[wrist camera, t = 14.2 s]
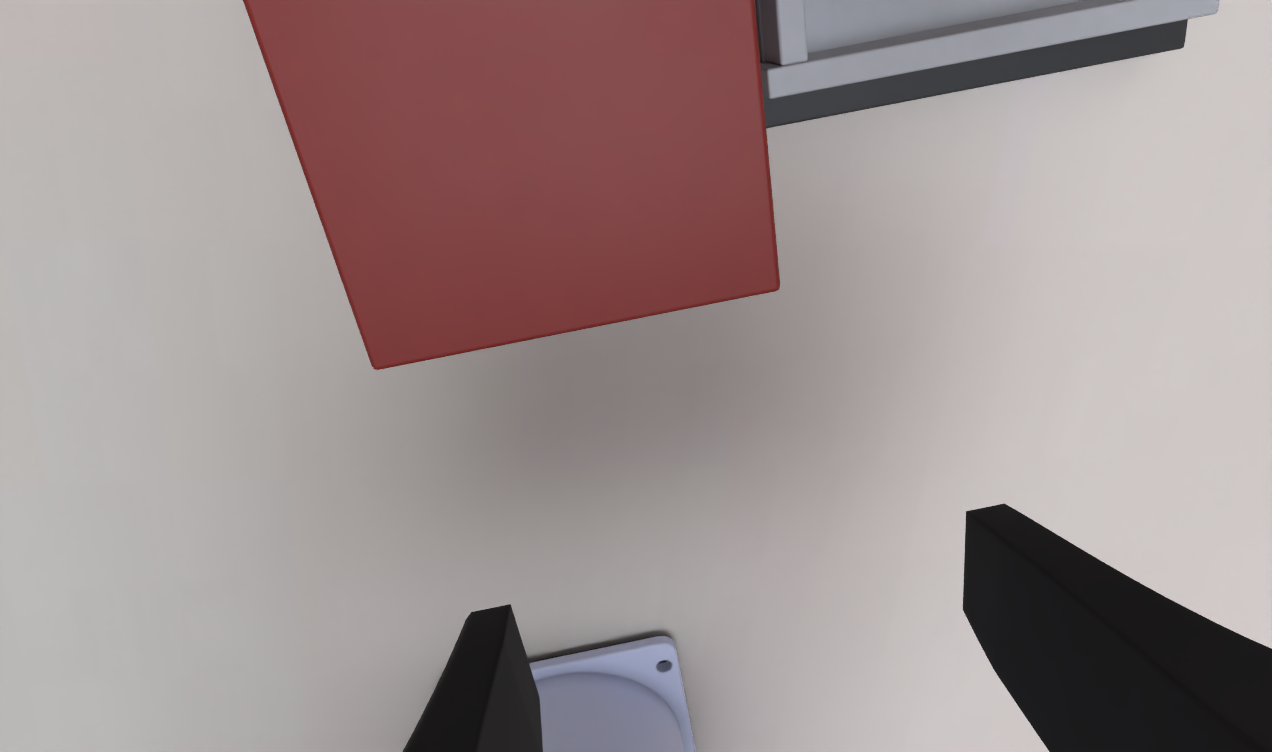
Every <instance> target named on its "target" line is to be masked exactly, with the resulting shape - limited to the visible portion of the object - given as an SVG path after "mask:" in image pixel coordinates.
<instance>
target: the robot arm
mask: <svg viewBox="0 0 1272 752" xmlns="http://www.w3.org/2000/svg"><path fill="white" fill-rule="evenodd" d="M963 611H964V613H965V615H966V617H967V619H968V621H969V623H970V625H971V627H972V629H973V631H974V633H975V635H976V637H977V639H978V641H979V643H980V644H981V646H982V648H983V650H984V652H985V654H986V656H987V658H988V659H989V661H990V663H991V665H992V667H993V669H994V670H995V672H996V673H997V675H998V676H999V678H1000V679H1001V681H1002V682H1003V684H1004V685H1005V687H1006V688H1007V690H1008V691H1009V693H1010V694H1011V696H1012V697H1013V699H1014V700H1015V702H1016V703H1017V705H1018V706H1019V708H1020V709H1021V711H1022V712H1023V714H1024V715H1025V717H1026V718H1027V719H1028V721H1029V722H1030V724H1031V725H1032V727H1033V728H1034V730H1035V731H1036V733H1037V734H1038V736H1039V737H1040V738H1041V740H1042V741H1043V743H1044V744H1045V746H1046V747H1047V749H1048V750H1049V752H1272V649H1271V648H1269V647H1266V646H1264V645H1262V644H1260V643H1257V642H1255V641H1253V640H1250V639H1248V638H1246V637H1244V636H1242V635H1240V634H1238V633H1235V632H1233V631H1231V630H1229V629H1227V628H1225V627H1223V626H1221V625H1219V624H1217V623H1215V622H1213V621H1211V620H1209V619H1207V618H1205V617H1203V616H1201V615H1199V614H1197V613H1195V612H1193V611H1191V610H1189V609H1187V608H1185V607H1183V606H1182V605H1180V604H1178V603H1176V602H1174V601H1172V600H1170V599H1168V598H1166V597H1164V596H1162V595H1161V594H1159V593H1157V592H1155V591H1153V590H1151V589H1150V588H1148V587H1146V586H1144V585H1142V584H1140V583H1139V582H1137V581H1135V580H1133V579H1132V578H1130V577H1128V576H1126V575H1124V574H1123V573H1121V572H1119V571H1117V570H1116V569H1114V568H1112V567H1110V566H1109V565H1107V564H1105V563H1104V562H1102V561H1100V560H1098V559H1097V558H1095V557H1093V556H1092V555H1090V554H1088V553H1087V552H1085V551H1083V550H1082V549H1080V548H1078V547H1077V546H1075V545H1073V544H1072V543H1070V542H1068V541H1067V540H1065V539H1063V538H1062V537H1060V536H1058V535H1057V534H1055V533H1053V532H1052V531H1050V530H1048V529H1047V528H1045V527H1043V526H1042V525H1040V524H1038V523H1037V522H1035V521H1033V520H1032V519H1030V518H1028V517H1027V516H1025V515H1023V514H1022V513H1020V512H1018V511H1016V510H1015V509H1013V508H1011V507H1009V506H1008V505H1006V504H1000V505H996V506H991V507H986V508H981V509H976V510H971V511H966V533H965V563H964V593H963ZM663 660H667V662H665V663H658V662H660V661H663ZM403 752H696V749H695V744H694V738H693V733H692V728H691V723H690V718H689V713H688V708H687V702H686V697H685V692H684V687H683V682H682V677H681V672H680V666H679V661H678V656H677V651H676V646H675V643H674V641H673V640H672V639H671V638H669V637H666V636H657V637H652V638H647V639H642V640H638V641H633V642H628V643H623V644H618V645H614V646H609V647H604V648H599V649H594V650H590V651H585V652H580V653H575V654H570V655H566V656H561V657H556V658H551V659H546V660H542V661H537V662H532V663H529V662H528V659H527V655H526V652H525V649H524V646H523V643H522V640H521V636H520V633H519V630H518V627H517V624H516V621H515V617H514V614H513V611H512V608H511V605H505V606H500V607H495V608H490V609H485V610H480V611H475V612H471V614H470V615H469V616H468V618H467V619H466V621H465V623H464V626H463V628H462V630H461V633H460V635H459V637H458V640H457V642H456V644H455V647H454V649H453V651H452V654H451V656H450V658H449V660H448V662H447V665H446V667H445V669H444V671H443V673H442V675H441V677H440V680H439V682H438V684H437V686H436V688H435V690H434V692H433V694H432V696H431V698H430V700H429V702H428V704H427V706H426V708H425V710H424V712H423V714H422V716H421V718H420V720H419V722H418V724H417V726H416V728H415V730H414V732H413V733H412V735H411V737H410V739H409V741H408V743H407V745H406V746H405V748H404V750H403Z"/></svg>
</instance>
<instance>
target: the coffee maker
mask: <svg viewBox="0 0 1272 752" xmlns="http://www.w3.org/2000/svg"><path fill="white" fill-rule="evenodd" d="M243 1H244V4H245V7H246V10H247V13H248V16H249V18H250V21H251V24H252V27H253V30H254V33H255V35H256V38H257V41H258V44H259V47H260V50H261V52H262V55H263V58H264V61H265V64H266V67H267V69H268V72H269V75H270V78H271V81H272V84H273V87H274V89H275V92H276V95H277V98H278V101H279V104H280V106H281V109H282V112H283V115H284V118H285V121H286V123H287V126H288V129H289V132H290V135H291V138H292V140H293V143H294V146H295V149H296V152H297V155H298V158H299V160H300V163H301V166H302V169H303V172H304V175H305V177H306V180H307V183H308V186H309V189H310V192H311V194H312V197H313V200H314V203H315V206H316V209H317V211H318V214H319V217H320V220H321V223H322V226H323V228H324V231H325V234H326V237H327V240H328V243H329V246H330V248H331V251H332V254H333V257H334V260H335V263H336V265H337V268H338V271H339V274H340V277H341V280H342V282H343V285H344V288H345V291H346V294H347V297H348V299H349V302H350V305H351V308H352V311H353V314H354V316H355V319H356V322H357V325H358V328H359V331H360V334H361V336H362V339H363V342H364V345H365V348H366V351H367V353H368V356H369V359H370V362H371V365H372V367H373V368H374V369H376V370H379V369H384V368H389V367H394V366H399V365H405V364H410V363H415V362H420V361H425V360H430V359H435V358H440V357H445V356H450V355H455V354H460V353H465V352H470V351H475V350H480V349H485V348H490V347H496V346H501V345H506V344H511V343H516V342H521V341H526V340H531V339H536V338H541V337H546V336H551V335H556V334H561V333H566V332H571V331H576V330H581V329H587V328H592V327H597V326H602V325H607V324H612V323H617V322H622V321H627V320H632V319H637V318H642V317H647V316H652V315H657V314H662V313H667V312H672V311H678V310H683V309H688V308H693V307H698V306H703V305H708V304H713V303H718V302H723V301H728V300H733V299H738V298H743V297H748V296H753V295H758V294H763V293H769V292H774V291H777V290H779V287H780V279H779V268H778V256H777V245H776V234H775V223H774V211H773V200H772V189H771V178H770V167H769V155H768V144H767V133H766V128H770V127H775V126H780V125H786V124H791V123H796V122H801V121H806V120H812V119H817V118H822V117H827V116H832V115H838V114H843V113H848V112H853V111H858V110H864V109H869V108H874V107H879V106H884V105H890V104H895V103H900V102H905V101H910V100H916V99H921V98H926V97H931V96H936V95H942V94H947V93H952V92H957V91H962V90H968V89H973V88H978V87H983V86H988V85H994V84H999V83H1004V82H1009V81H1014V80H1020V79H1025V78H1030V77H1035V76H1040V75H1046V74H1051V73H1056V72H1061V71H1066V70H1072V69H1077V68H1082V67H1087V66H1092V65H1098V64H1103V63H1108V62H1113V61H1118V60H1124V59H1129V58H1134V57H1139V56H1144V55H1150V54H1155V53H1160V52H1165V51H1170V50H1176V49H1181V48H1183V47H1184V43H1185V36H1186V28H1187V21H1188V19H1191V18H1196V17H1201V16H1207V15H1212V14H1215V13H1217V11H1218V5H1219V0H243Z"/></svg>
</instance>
